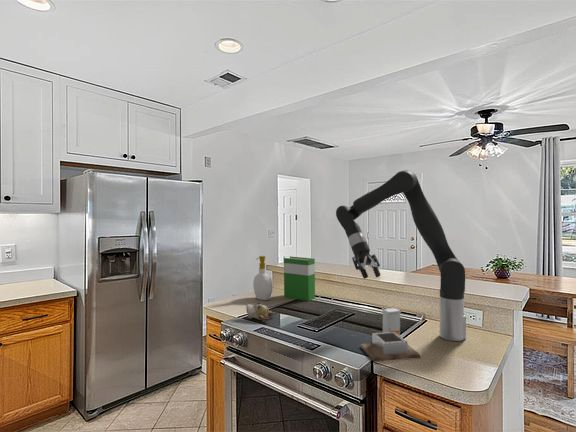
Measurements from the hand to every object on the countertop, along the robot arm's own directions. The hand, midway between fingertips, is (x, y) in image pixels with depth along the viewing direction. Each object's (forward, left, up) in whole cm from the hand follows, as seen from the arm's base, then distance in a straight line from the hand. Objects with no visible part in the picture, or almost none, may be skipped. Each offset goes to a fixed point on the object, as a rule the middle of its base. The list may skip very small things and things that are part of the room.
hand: (372, 277), depth 154 cm
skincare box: (-5, +8, -25) cm, 26 cm away
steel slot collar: (+2, +21, -23) cm, 31 cm away
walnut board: (+2, +21, -24) cm, 32 cm away
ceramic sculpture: (+48, -27, -25) cm, 60 cm away
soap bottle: (+44, -63, -25) cm, 81 cm away
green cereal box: (+21, -62, -25) cm, 70 cm away
